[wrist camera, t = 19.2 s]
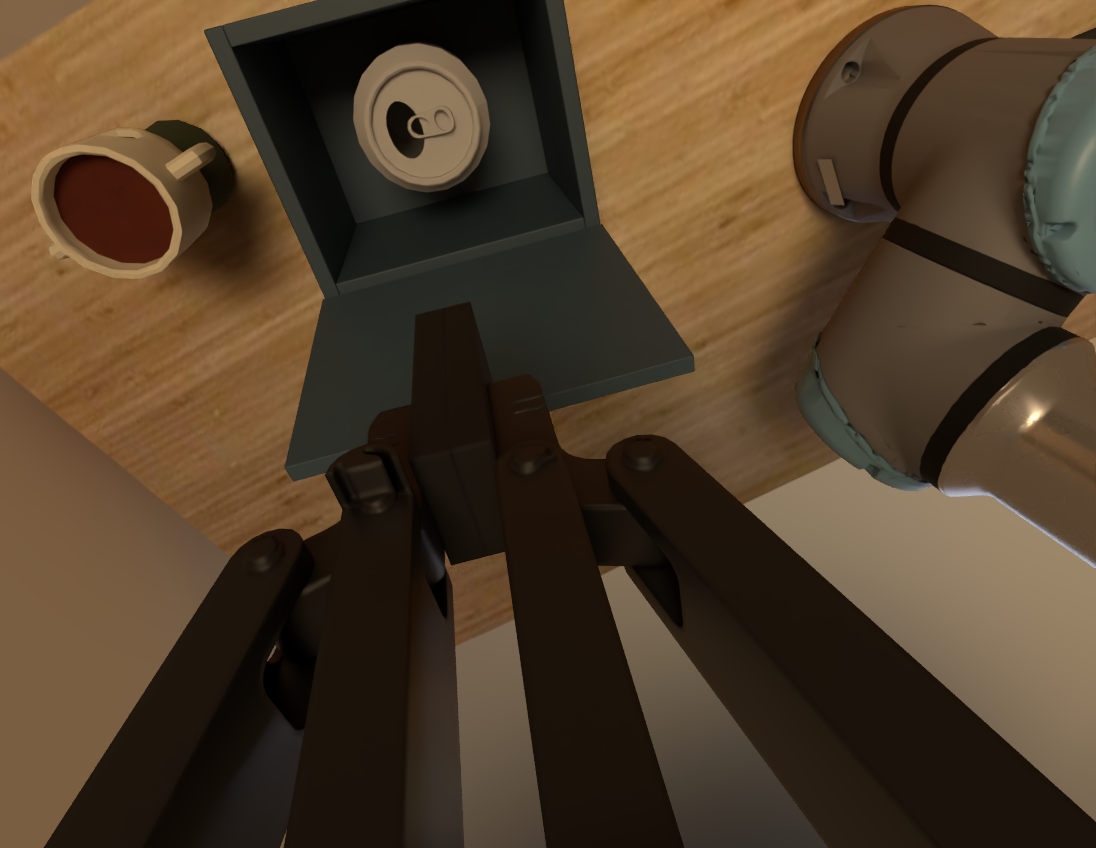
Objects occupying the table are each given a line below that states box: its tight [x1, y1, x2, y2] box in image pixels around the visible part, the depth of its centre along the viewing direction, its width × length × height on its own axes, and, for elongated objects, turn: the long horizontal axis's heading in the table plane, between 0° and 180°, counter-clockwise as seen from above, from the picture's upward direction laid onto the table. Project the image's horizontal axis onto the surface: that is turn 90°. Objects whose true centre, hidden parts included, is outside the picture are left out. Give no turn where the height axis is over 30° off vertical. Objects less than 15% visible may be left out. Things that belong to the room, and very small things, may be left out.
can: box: [353, 40, 490, 192], centre depth 38 cm, size 8×8×12 cm
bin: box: [204, 0, 600, 299], centre depth 38 cm, size 14×17×14 cm
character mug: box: [31, 120, 233, 279], centre depth 38 cm, size 11×7×13 cm, turn 119°
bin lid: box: [285, 224, 695, 481], centre depth 30 cm, size 15×17×1 cm
